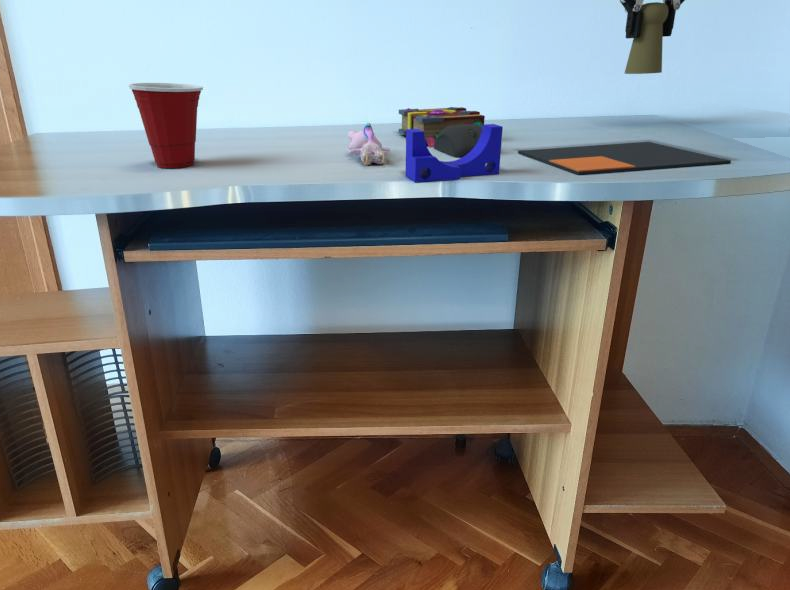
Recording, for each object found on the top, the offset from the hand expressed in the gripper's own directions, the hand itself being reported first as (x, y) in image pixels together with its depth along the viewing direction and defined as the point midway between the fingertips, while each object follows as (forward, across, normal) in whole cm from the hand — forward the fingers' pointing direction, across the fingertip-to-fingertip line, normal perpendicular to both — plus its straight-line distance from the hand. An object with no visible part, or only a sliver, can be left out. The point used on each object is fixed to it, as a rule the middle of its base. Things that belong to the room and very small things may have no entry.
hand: (648, 36), depth 111 cm
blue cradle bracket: (+16, -45, -29) cm, 56 cm away
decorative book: (+15, -36, +3) cm, 39 cm away
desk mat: (+16, -19, -25) cm, 35 cm away
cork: (+6, 0, 0) cm, 6 cm away
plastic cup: (+15, -82, -6) cm, 84 cm away
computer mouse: (+15, -37, -11) cm, 42 cm away
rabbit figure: (+15, -53, -12) cm, 57 cm away
